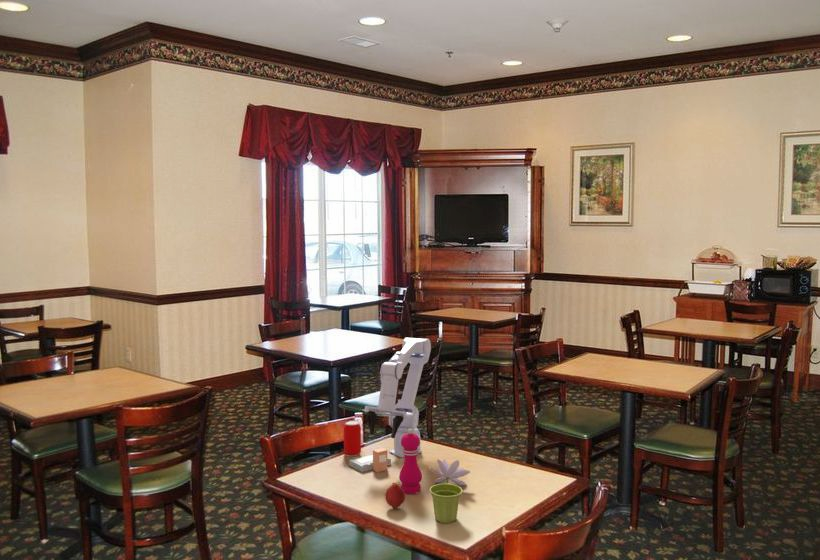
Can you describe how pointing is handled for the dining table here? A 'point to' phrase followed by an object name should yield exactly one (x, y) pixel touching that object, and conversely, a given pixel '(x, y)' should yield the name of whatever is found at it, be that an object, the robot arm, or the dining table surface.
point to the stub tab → (380, 460)
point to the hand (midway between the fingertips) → (382, 436)
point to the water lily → (450, 472)
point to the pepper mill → (410, 464)
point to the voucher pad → (365, 463)
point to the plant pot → (445, 501)
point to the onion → (395, 495)
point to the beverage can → (352, 438)
